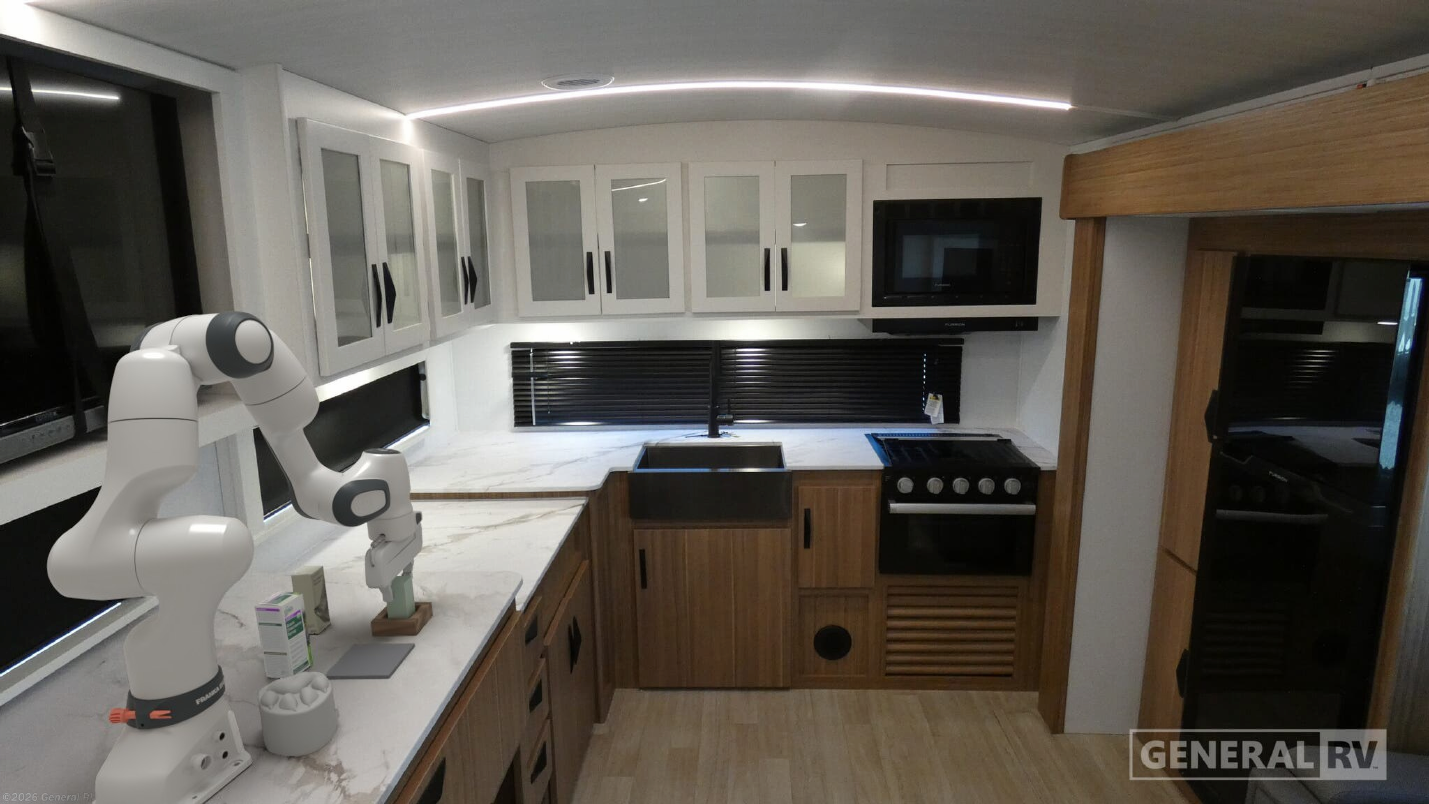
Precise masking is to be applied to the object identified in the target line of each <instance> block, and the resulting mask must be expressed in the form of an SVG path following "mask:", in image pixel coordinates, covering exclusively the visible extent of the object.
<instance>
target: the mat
mask: <svg viewBox="0 0 1429 804" xmlns="http://www.w3.org/2000/svg"><path fill="white" fill-rule="evenodd" d="M415 647H416V643H414V642H413V643H412V642H411V643H410V642H409V643H354V644H353V645H352V646H351V647H349V649H348V650H347V651H346V652H345V653H343V655H342V656H341V657H340V658H339V659H338V660H337V661H336V662H335V663H334V665H332V666H331V667H330V669H329V670H328V671H326V673H325V674H324V675H325V676H326V677H327V678H328V679H329V680H347V679H348V680H353V679H356V680H358V679H362V680H363V679H365V680H366V679H367V680H368V679H390V678H391V677H392V675H393V674H394V673H395V672H396V671H397V669H398V668H399V667H400V666H401V665H402V663H403V662H404V660H406V658H407V657H408V656H409V655H410V653H411V652H412V650H414V649H415Z"/></svg>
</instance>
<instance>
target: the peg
mask: <svg viewBox="0 0 1429 804" xmlns="http://www.w3.org/2000/svg"><path fill="white" fill-rule="evenodd" d="M391 584H392V585H391V586H390V587H391V589H392V591H394V595H395V598H394V599H393V600H392V601H391V602H385V603H386V606H387V612H388V618H411V617H412V616H413V615H414V613H415V612H416V610H415V602H416V601H415V593H414V584H413V579H412V576H401V575H397V576H396V577H395V578H394V579H393V580H392V581H391Z"/></svg>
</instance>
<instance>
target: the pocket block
mask: <svg viewBox="0 0 1429 804" xmlns="http://www.w3.org/2000/svg"><path fill="white" fill-rule="evenodd" d="M415 610H416V612H415V613H414V615H413V616H412V617H411V618H388V612H387V605H385V607H384V608H383V609H381V611H379V613H377V615H376V616H374V617H373V618H372V620H371V621H370V629H371V631H370V632H371V636H372V637H384V636H385V637H386V636H387V637H389V636H390V637H396V636H397V637H398V636H400V637H402V636H417V635H418V634H419V633H420V632H421V630H422V629H423V628H424V627H425V626H426V624H428V622H429V621H430V620H431V618H432V617H433V616H434V612H433V604H432V601H415Z"/></svg>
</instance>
